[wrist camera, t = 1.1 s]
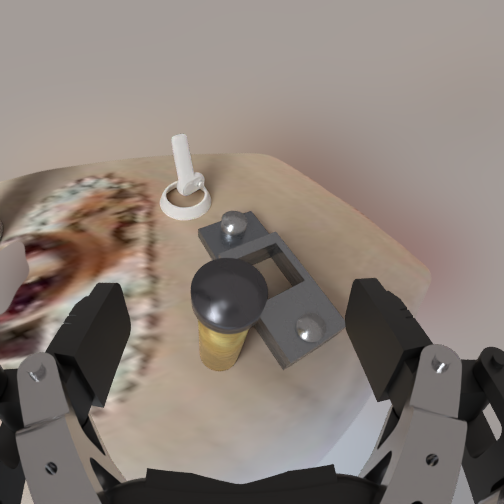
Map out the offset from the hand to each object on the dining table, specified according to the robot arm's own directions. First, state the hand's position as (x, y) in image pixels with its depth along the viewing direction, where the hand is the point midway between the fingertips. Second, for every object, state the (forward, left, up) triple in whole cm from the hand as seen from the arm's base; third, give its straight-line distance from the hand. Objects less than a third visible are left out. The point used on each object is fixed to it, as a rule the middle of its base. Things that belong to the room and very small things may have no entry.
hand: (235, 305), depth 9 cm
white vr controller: (-26, +9, -21) cm, 34 cm away
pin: (-4, +2, -21) cm, 21 cm away
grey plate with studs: (-9, +11, -21) cm, 25 cm away
